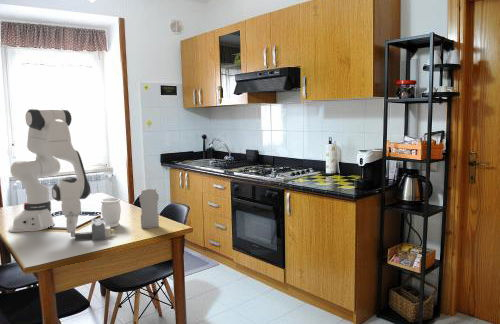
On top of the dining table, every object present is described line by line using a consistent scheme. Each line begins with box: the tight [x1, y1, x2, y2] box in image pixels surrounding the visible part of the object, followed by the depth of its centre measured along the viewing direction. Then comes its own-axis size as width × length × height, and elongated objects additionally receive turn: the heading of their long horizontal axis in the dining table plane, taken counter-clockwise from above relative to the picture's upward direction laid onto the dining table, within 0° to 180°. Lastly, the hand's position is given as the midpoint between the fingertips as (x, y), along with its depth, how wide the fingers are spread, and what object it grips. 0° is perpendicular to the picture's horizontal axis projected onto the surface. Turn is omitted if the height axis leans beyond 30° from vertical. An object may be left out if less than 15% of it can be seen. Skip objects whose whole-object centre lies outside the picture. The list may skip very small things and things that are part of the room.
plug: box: [74, 226, 115, 241], centre depth 201 cm, size 19×4×4 cm, turn 110°
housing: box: [91, 217, 106, 242], centre depth 202 cm, size 6×13×9 cm, turn 21°
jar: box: [100, 197, 122, 228], centre depth 222 cm, size 11×10×15 cm
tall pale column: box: [138, 188, 160, 230], centre depth 218 cm, size 11×4×22 cm, turn 116°
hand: (73, 236), depth 198 cm, fingers closed, pressing on plug
